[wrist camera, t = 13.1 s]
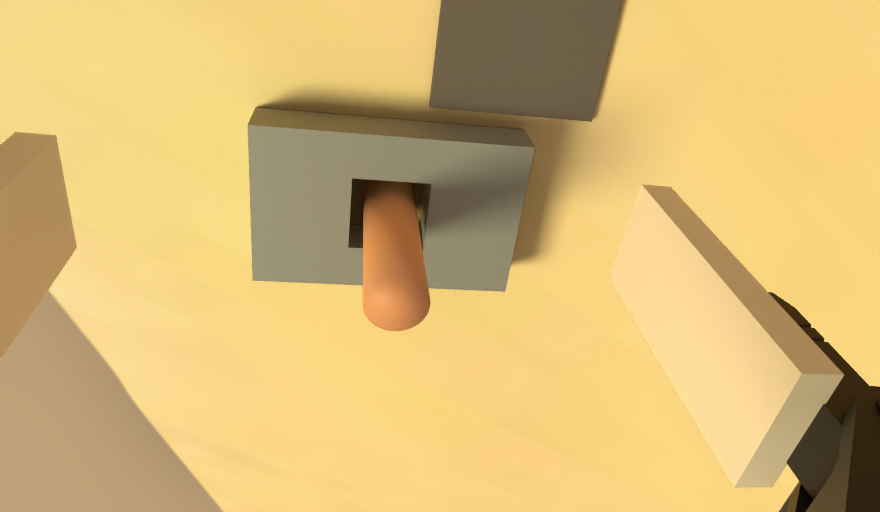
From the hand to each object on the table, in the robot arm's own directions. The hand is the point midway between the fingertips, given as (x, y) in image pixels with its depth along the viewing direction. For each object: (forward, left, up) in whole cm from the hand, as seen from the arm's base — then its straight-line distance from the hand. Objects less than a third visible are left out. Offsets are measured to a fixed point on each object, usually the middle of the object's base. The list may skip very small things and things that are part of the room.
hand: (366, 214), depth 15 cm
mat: (+9, 0, -24) cm, 25 cm away
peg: (+2, -11, -24) cm, 26 cm away
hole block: (+2, -11, -24) cm, 26 cm away
